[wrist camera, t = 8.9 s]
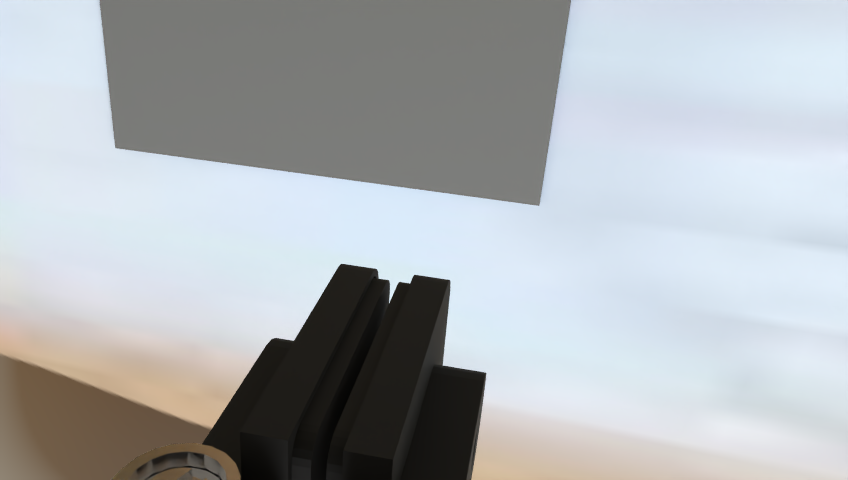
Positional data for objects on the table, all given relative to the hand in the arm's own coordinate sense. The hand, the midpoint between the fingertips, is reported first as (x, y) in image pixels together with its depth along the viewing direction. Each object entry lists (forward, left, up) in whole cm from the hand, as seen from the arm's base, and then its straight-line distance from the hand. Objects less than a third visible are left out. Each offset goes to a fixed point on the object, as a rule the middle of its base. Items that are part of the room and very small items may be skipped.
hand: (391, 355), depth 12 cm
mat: (+10, 0, -29) cm, 31 cm away
